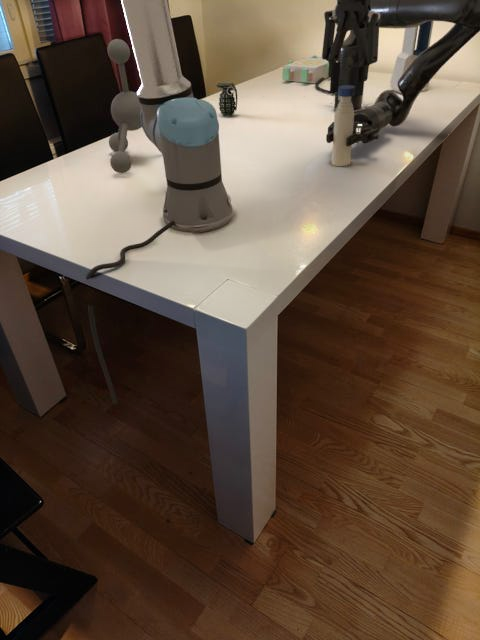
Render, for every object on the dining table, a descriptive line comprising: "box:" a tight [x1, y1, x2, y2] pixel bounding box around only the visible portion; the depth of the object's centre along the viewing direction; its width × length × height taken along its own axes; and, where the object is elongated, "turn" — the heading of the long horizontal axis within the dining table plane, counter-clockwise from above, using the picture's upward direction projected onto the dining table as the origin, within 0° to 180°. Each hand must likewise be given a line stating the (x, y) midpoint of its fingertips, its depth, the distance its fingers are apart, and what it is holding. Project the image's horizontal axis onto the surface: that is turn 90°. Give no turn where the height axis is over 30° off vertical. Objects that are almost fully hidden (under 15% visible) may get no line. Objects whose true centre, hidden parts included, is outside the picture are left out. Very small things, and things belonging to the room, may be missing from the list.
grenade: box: [215, 82, 238, 117], centre depth 166 cm, size 7×6×10 cm
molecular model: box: [107, 38, 142, 174], centre depth 130 cm, size 24×22×30 cm
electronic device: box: [389, 21, 435, 95], centre depth 175 cm, size 12×8×30 cm, turn 105°
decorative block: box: [282, 55, 330, 84], centre depth 207 cm, size 26×6×20 cm
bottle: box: [330, 96, 355, 167], centre depth 124 cm, size 5×5×18 cm
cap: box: [338, 85, 355, 97], centre depth 118 cm, size 4×4×2 cm
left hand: (346, 93), depth 119 cm, fingers open, 6 cm apart
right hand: (337, 140), depth 124 cm, fingers closed on bottle, 5 cm apart
